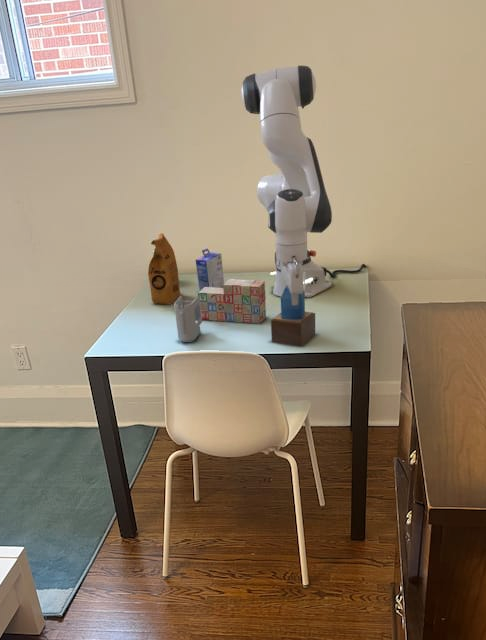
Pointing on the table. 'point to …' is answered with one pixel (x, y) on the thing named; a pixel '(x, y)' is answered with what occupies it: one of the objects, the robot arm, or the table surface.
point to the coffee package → (163, 273)
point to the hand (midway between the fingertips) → (292, 299)
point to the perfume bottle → (292, 306)
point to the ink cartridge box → (210, 270)
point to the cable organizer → (188, 319)
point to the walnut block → (293, 329)
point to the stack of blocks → (234, 302)
